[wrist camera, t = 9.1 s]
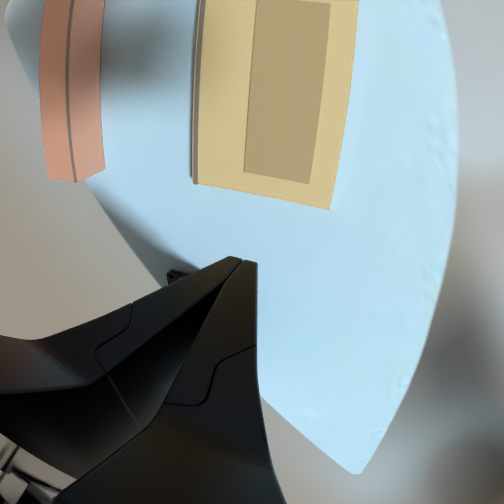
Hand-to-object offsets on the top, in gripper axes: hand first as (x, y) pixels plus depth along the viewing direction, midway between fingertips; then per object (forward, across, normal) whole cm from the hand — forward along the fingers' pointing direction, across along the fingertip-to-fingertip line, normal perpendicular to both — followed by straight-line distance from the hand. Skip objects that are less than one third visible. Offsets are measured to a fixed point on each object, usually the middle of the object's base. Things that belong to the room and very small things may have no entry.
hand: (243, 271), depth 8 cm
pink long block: (+12, +20, -6) cm, 25 cm away
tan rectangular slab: (+12, +3, -6) cm, 14 cm away
